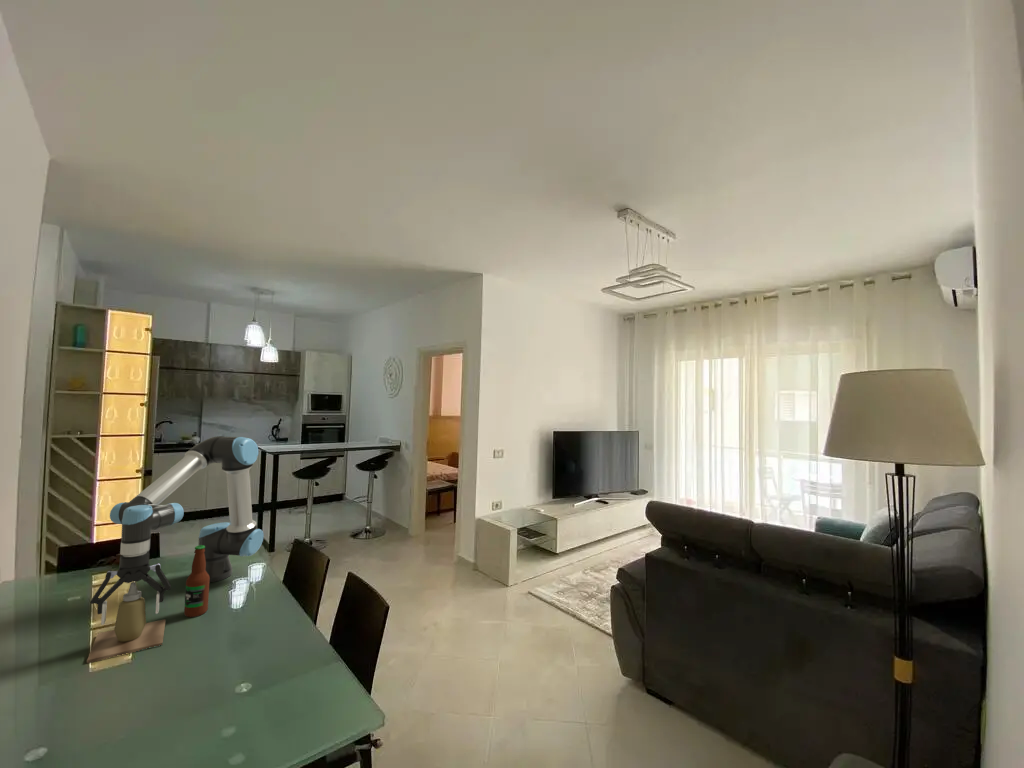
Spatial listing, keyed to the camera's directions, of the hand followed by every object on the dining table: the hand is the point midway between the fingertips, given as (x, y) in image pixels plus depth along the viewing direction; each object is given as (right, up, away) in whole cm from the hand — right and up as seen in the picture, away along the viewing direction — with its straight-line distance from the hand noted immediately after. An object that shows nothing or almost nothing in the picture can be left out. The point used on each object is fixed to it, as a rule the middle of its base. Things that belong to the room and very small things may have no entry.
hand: (131, 617), depth 146 cm
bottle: (+8, -9, +19) cm, 23 cm away
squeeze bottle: (0, -7, 0) cm, 7 cm away
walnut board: (0, -8, 0) cm, 8 cm away
